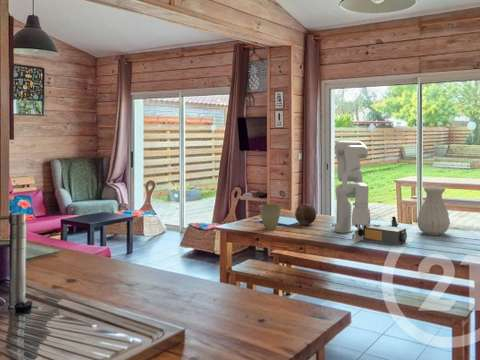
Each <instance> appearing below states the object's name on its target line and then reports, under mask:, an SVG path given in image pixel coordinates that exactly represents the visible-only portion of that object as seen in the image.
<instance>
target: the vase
mask: <svg viewBox="0 0 480 360" xmlns="http://www.w3.org/2000/svg"><path fill="white" fill-rule="evenodd" d="M423 190H424V191H425V193H426V196H425V199H424V201H423V203H422V205H421V207H420V209H419V211H418V215H417V219H416V223H417V227H418V229H419V230H420V231H421V232H422V233H424V234H425V235H428V236H441V235H443V234H444V233H447V231H448V230H449V227H450V224H451V221H450V217H449V211H448V209H447V207H446V204H445V203H444V202H445V201H444V199H443V193H444V192H445V190H446V188H445V187H443V186H442V187H440V186H425V187H424V188H423Z"/></svg>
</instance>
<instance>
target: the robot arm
mask: <svg viewBox="0 0 480 360" xmlns="http://www.w3.org/2000/svg"><path fill="white" fill-rule="evenodd" d="M334 155H335V157H336V163H337V164H336V165H337V180H338V181H339V182H341V183H340V184H338V185H336V187H335V197H336V198H335V199H336V223H332V224H331V228H332V227H333V228H334V229H333V231H334V232H336V233H343V234H349V233H354V229H353V228H352V226H354V227H356V230H357V229H358V235H359V236H361V237H362V236H363V235H364V229H365V228H366V227H370V225H371V212H370V207H369V185H368V184H366V183H365V182H363V172H362V169H361V168H362V164H361V160H365V159H367V158H368V155H369V151H368V148H367V146H366V145H365V144H364V143H363V142H362V141H360V140H341V141H337V142H336V143H335V144H334ZM348 199H354V202H352V203H351V201H350V200H348ZM352 205H353V206H354V207H353V208H352ZM361 227H362V228H361Z"/></svg>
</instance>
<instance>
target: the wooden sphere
mask: <svg viewBox="0 0 480 360" xmlns="http://www.w3.org/2000/svg"><path fill="white" fill-rule="evenodd" d="M294 217H295V219H296V222H298V223H299V224H301V225H303V226H309V225H311V224H312V223H314V222H315V220H316V219H317V210H316V209H315V208H314V206H313V205H312V204H309V203H303V204H300V205H299V206H298V207H297V208H296V209H295V211H294Z"/></svg>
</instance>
